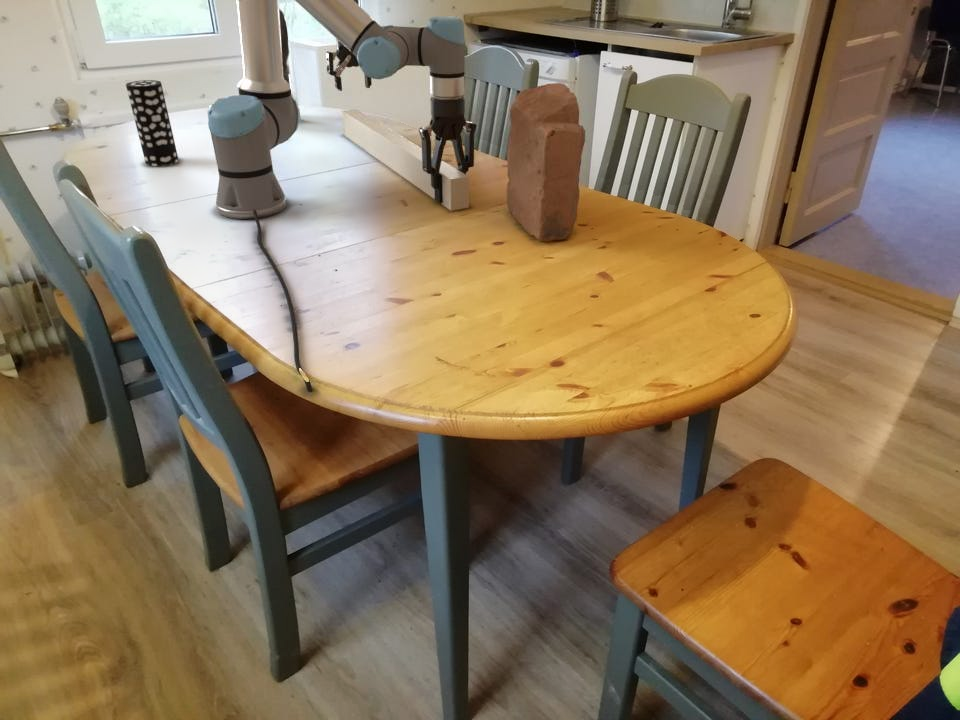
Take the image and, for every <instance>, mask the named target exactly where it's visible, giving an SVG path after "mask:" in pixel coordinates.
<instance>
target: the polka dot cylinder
mask: <svg viewBox="0 0 960 720" xmlns="http://www.w3.org/2000/svg"><path fill="white" fill-rule="evenodd" d="M125 87H126V91H127V95H128V99H129V103H130V107H131V110H132V115H133V118H134V122H135V123H134V124H135V127H136V130H137V134H138V139H139V143H140V146H141V150H142V155H143V158H144V163H145V164H146V165H147V166H151V167H164V166H170V165H174V164H176V163H178V162H179V155H178V150H177V146H176V142H175V137H174V133H173V128H172V125H171V121H170V116H169V111H168V107H167V103H166V98H165V93H164V89H163V84H162V81H161V80H155V79H154V80H153V79H151V80H150V79H145V80H144V79H141V80H134V81H130V82H129V81H128V82H127V83H126V84H125Z"/></svg>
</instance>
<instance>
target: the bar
mask: <svg viewBox="0 0 960 720" xmlns="http://www.w3.org/2000/svg"><path fill="white" fill-rule="evenodd" d="M341 115H342V126H343V136H344V137H346V138H347V139H349V140H350V141H351V142H353V143H354V144H356V145H357V146H358V147H360V148H361V149H362V150H364V151H365V152H367V153H368V154H370V155H371V156H373V157H374V158H376V160H378V161H379V162H381V163H382V164H384V165H385V166H387V167H388V168H389V169H391V170H392V171H394V172H395V173H396V174H398V175H400V176H401V177H402V178H404V179H405V180H407V182H409V183H411V184H412V185H413V186H415V187H417V188H418V189H419V190H421V191H422V192H424V193H425V194H426V195H428V196H429V197H431V198H432V199H433V200H435V191H434V188H432V186H431V174H428V173H426V172H425V171H423V167H422V146H419V145H417V144H416V143H414V142H413V141H411V140H409V139H407V138H406V137H404V136H402V135H400V134H399V133H397V132H395V131H394V130H392V129H391V128H389V127H387V126H386V125H384V124H382V123H380V122H379V121H377V120H376V119H374V118H373V117H371V116H369V115H367V114H366V113H364V112H362V111H361V110H359V109H357V108H355V109H353V108H352V109H346V110H341ZM432 155H433V153H431V158H432ZM457 169H458V168H456V167H454V166H453V165H451V164H449V163H447V162H445V161H444V160H443V159H442V160H441V165H440V171H439V174H441V175H442V196H443V203H440V204H441V206H443V207H445V208H446V209H447V210H449V211H451V212H452V211H457V210H458V211H459V210H463V209H468V208H470V176H469V175H467V173H466V174H464V173H462V172H461V171H459V170H457Z"/></svg>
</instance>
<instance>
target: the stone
mask: <svg viewBox="0 0 960 720" xmlns="http://www.w3.org/2000/svg"><path fill="white" fill-rule="evenodd" d="M577 98H578V97H577V96H576V95H575V93H574V92H571V89H570V87H568V86H567V85H566V84H565V83H561V82H555V83H554V82H553V83H546V84H542V85H538V86H536V87H533V88H524V89H522V90H521V91H520V92H518V94H517V96H516V97H515V99H514V100H513V102H512V104H511V106H510V108H509V119H510V131H509V136H508V144H507V149H506V150H507V151H506V152H507V153H506V159H507V160H506V161H507V164H506V165H507V172H506V173H507V178H508V179H507V180H508V181H507V183H506V204H507V208H508V211H509V213H510V214H511V215H512V216H513V218H514V219H515V220H516V221H517V222H518V223H519V224H520V225H521V226H522V228H523V229H524V230H525V231H526V232H527V233H528V234H529V235H530V236H534V237H535V239H536V240H537V241H539V242H551V241H556V240H557V241H558V240H560V241H561V240H565V239H566V238H567V237H568V236H569V234H571V232H573V230H574V227H575V225H576V221H577V218H578V206H579V200H580V192H581V191H580V173H581V165H582V155H583V151H584V146H585V143H586V129H584V126H583V125H580V124H579V122H580V107H579V103H578V99H577Z"/></svg>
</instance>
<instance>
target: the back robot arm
mask: <svg viewBox="0 0 960 720" xmlns="http://www.w3.org/2000/svg"><path fill="white" fill-rule="evenodd" d="M354 1H355V2H356V3H357V4H358V5H359V6H360V7H361V5H360V0H354ZM279 15H280V30H281V45H282V60H283V75H284V79H285V80H286V81H287V82H288V83H289V84H290V86H291V94H292V97H293V98H294V94H293V86H292V85H293V84H292V79H291V70H290V63H289V56H290V41H289V28H288V23H287V18H286V16H285V14H284V12H283V10H281V8H279ZM335 43H336V51H326V53H325V58H326V59H325V61H326V74H328V75H329V76H332V77H333V78H334V87H335V89H337V90H338V91H339V92H342V91H343V84H342V83H343V82H342V76H341V75H342V73H343V72H344V71H345V69H346V68H348V69H349V68H353V67H355V68H359V67H360V66H359V64H358V60H357V57H356V56H355V55H354V54H353V53H352V52H351V51H350V50H348V49H347V48H346V47H345V46H344V45H343V44H342V43H341V42H340V41H339V40H338V39H337V38H335ZM336 58H337V59H338V62H337V64H336V67H335V69H334V61H335V60H336ZM363 75H364V86H365V88H366V89H370V88H371V86H372V84H373V83H372V78H370V77H368V76H367V75H365V74H364V73H363ZM222 98H223V97H221V98H218V99H216V100H215V101H217V100H219V99H222Z"/></svg>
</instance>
